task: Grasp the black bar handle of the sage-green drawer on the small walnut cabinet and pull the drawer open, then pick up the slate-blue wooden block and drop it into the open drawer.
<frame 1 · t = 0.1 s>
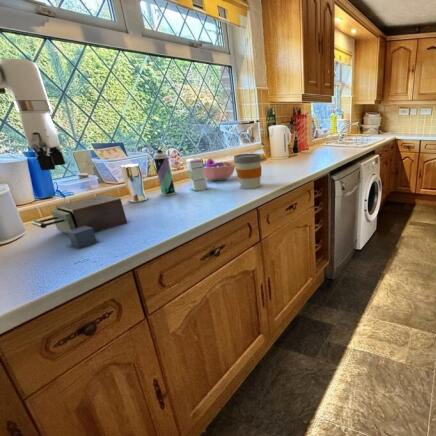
hand: (54, 167, 92), 20 cm above the countertop, tool pointing down, fingers open, 9 cm apart
beer glass: (139, 200, 130), on the countertop
cell model: (218, 180, 163), on the countertop
drawer: (74, 219, 95), point 4 cm above the countertop, slide at 0.5 cm
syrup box: (199, 189, 145), on the countertop
block: (84, 243, 87), on the countertop
spray can: (168, 194, 138), on the countertop
reusable coffee cup: (251, 186, 147), on the countertop
cabinet: (96, 226, 100), on the countertop
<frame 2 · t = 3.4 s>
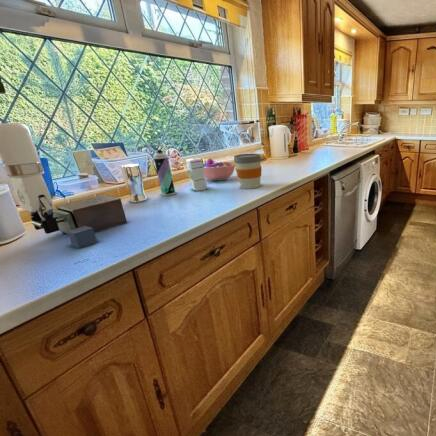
hand: (47, 229, 89), 3 cm above the countertop, tool pointing down, fingers closed on drawer, 6 cm apart
drawer: (74, 219, 95), point 4 cm above the countertop, slide at 0.5 cm, touching gripper
everything else where it was.
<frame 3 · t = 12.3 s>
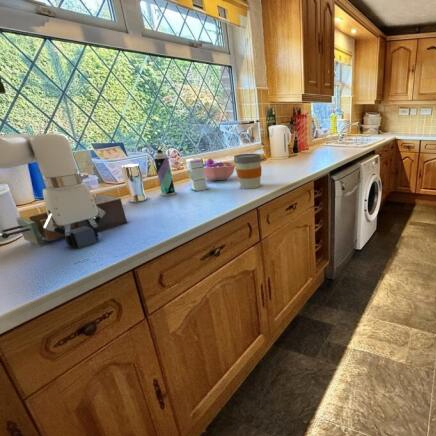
hand: (84, 242, 87), 0 cm above the countertop, tool pointing down, fingers closed on block, 4 cm apart
drawer: (42, 227, 88), point 4 cm above the countertop, slide at 8.5 cm
block: (84, 243, 87), on the countertop, touching gripper
everything else where it was.
when the fingers open (10 cm above the countertop, at t = 18.8 s): block drops 8 cm, resting on drawer.
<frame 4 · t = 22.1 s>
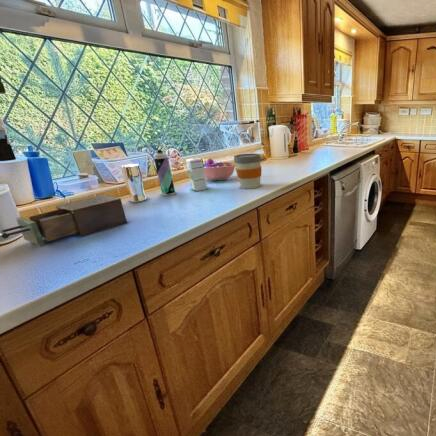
hand: (1, 159, 82), 24 cm above the countertop, tool pointing down, fingers open, 9 cm apart
drawer: (42, 227, 88), point 4 cm above the countertop, slide at 8.5 cm, touching block
block: (55, 231, 91), point 2 cm above the countertop, touching drawer
everything else where it was.
at the end: drawer slide at 8.5 cm; block inside the target area in the drawer (5.0 cm from its centre), point 2.0 cm above the cabinet's base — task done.
